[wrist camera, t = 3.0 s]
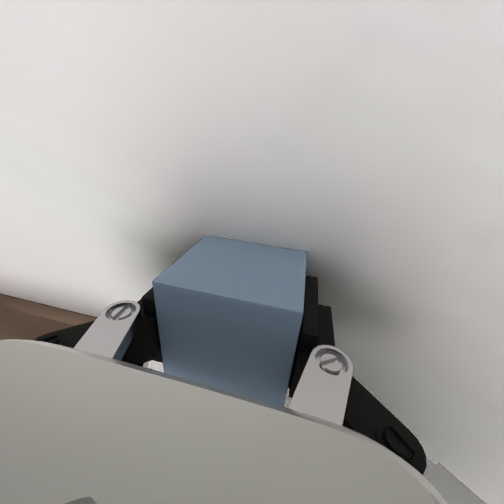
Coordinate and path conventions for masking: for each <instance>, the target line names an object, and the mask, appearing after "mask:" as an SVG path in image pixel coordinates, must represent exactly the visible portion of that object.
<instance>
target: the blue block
mask: <svg viewBox="0 0 504 504" xmlns="http://www.w3.org/2000/svg"><path fill="white" fill-rule="evenodd" d="M306 260H307V252H306V251H300V250H293V249H287V248H281V247H275V246H268V245H262V244H256V243H250V242H243V241H237V240H231V239H225V238H218V237H212V236H205V237H204V238H202V239H201V240H200V241H199V242H198V243H197V244H195V245H194V246H193V247H192V248H191V249H190V250H188V251H187V252H186V253H185V254H184V255H183V256H181V257H180V258H179V259H178V260H177V261H176V262H174V263H173V264H172V265H171V266H170V267H169V268H167V269H166V270H165V271H164V272H163V273H162V274H160V275H159V276H158V277H157V278H156V279H155V280H153V281H152V283H153V291H154V299H155V306H156V314H157V322H158V329H159V337H160V345H161V352H162V360H163V368H164V373H167V374H170V375H174V376H177V377H181V378H184V379H188V380H192V381H195V382H199V383H202V384H206V385H209V386H213V387H216V388H220V389H223V390H227V391H230V392H234V393H237V394H241V395H244V396H248V397H251V398H255V399H258V400H262V401H265V402H269V403H272V404H276V405H279V406H283V407H284V403H285V398H286V393H287V388H288V383H289V379H290V374H291V369H292V364H293V360H294V355H295V350H296V345H297V340H298V336H299V331H300V326H301V321H302V317H303V310H304V293H305V276H306Z"/></svg>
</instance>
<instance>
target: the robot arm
mask: <svg viewBox="0 0 504 504" xmlns="http://www.w3.org/2000/svg"><path fill="white" fill-rule="evenodd" d="M150 360H154V361H158V362H163V360H162V352H161V345H160V337H159V329H158V322H157V314H156V306H155V299H154V291H153V288H151V289H150V290H149V291H148V292H147V293H146V294H145V295H144V296H143V297H142V299H141V300H140V301H138V302H135V301H130V300H125V301H119V302H116V303H113V304H111V305H109V306H108V307H106V308H105V309H104V310H103V311H102V312H101V314H100V315H99V316H98V318H97V319H96V320H95V321H91V322H87V323H84V324H80V325H76V326H72V327H69V328H65V329H61V330H58V331H54V332H50V333H47V334H44V335H42V336H40V337H38V338H36V339H34V340H21V339H8V340H0V504H486V503H485V502H484V501H483V500H481V499H480V498H479V497H478V496H477V495H476V494H474V493H473V492H472V491H471V490H470V489H469V488H467V487H466V486H465V485H464V484H463V483H462V482H460V481H459V480H458V479H457V478H456V477H455V476H453V475H452V474H451V473H450V472H449V471H448V470H446V469H445V468H444V467H443V466H442V465H441V464H440V463H438V464H437V465H435V464H434V463H432V462H431V461H430V460H429V459H428V458H427V457H426V456H425V453H424V450H423V448H422V446H421V444H420V443H419V441H418V440H417V438H416V437H415V436H414V435H413V434H412V433H411V431H410V430H409V429H407V428H406V427H405V426H404V425H403V424H402V423H401V422H400V421H399V420H398V419H397V418H396V417H395V416H394V415H393V414H392V413H391V412H390V411H388V410H387V409H386V408H385V407H384V406H383V405H382V404H381V403H380V402H379V401H378V400H377V399H376V398H375V397H374V396H373V395H372V394H371V393H369V392H368V391H367V390H366V389H365V388H364V387H363V386H362V385H361V384H360V383H359V382H358V381H357V380H356V379H355V378H354V377H353V376H352V374H353V364H352V362H351V360H350V358H349V357H348V356H347V354H345V353H344V352H343V351H342V350H340V349H338V348H336V347H335V342H334V332H333V323H332V313H331V307H328V306H323V305H318V281H317V277H312V276H307V275H306V277H305V293H304V310H303V317H302V321H301V326H300V331H299V336H298V340H297V345H296V350H295V355H294V360H293V364H292V369H291V374H290V379H289V383H288V388H290V391H289V397H291V398H292V400H291V402H290V404H289V407H288V408H286V407H283V406H279V405H276V404H272V403H269V402H265V401H262V400H258V399H255V398H251V397H248V396H244V395H241V394H237V393H234V392H230V391H227V390H223V389H220V388H216V387H213V386H209V385H206V384H202V383H199V382H195V381H192V380H188V379H184V378H181V377H177V376H174V375H170V374H167V373H163V372H159V371H156V370H152V369H149V368H147V367H148V364H149V361H150Z"/></svg>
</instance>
